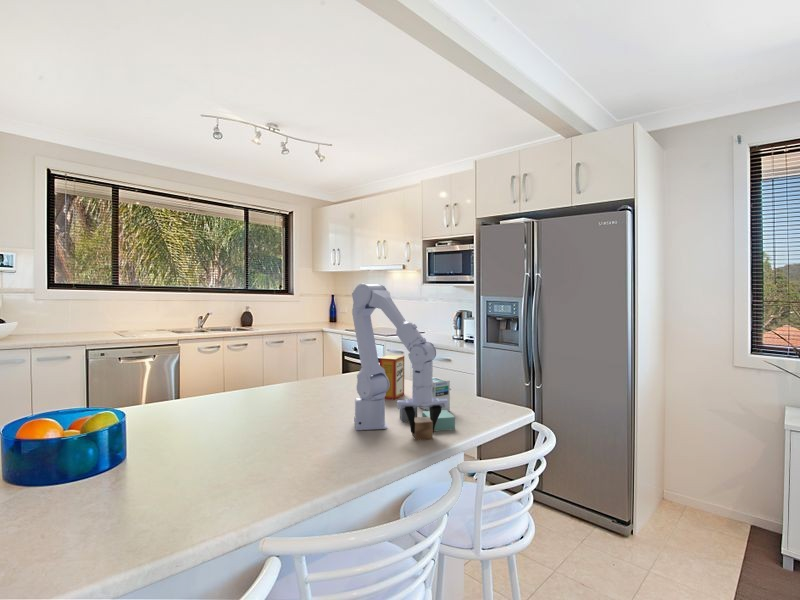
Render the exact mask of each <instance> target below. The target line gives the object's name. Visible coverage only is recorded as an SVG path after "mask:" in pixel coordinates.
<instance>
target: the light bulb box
mask: <svg viewBox="0 0 800 600" xmlns="http://www.w3.org/2000/svg"><path fill="white" fill-rule="evenodd" d="M450 383H451V382H450V380H449V379H448V380H447V379H445V378H444V379H443V378H440V377H436V376H433V375H432V398H439V399H447V400H448V407H444V406H440V408H441V410H447V411H448V412H449V410H450V411H451V409H450V408H451V407H450V405H451V403H450V400H451V399H450V398H451V396H450V395H451V391H450V388H451V387H450V385H451V384H450ZM419 408H420V409H423V410H425V409H426V410H425V411H430V408H429V407H419Z"/></svg>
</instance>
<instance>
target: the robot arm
mask: <svg viewBox="0 0 800 600" xmlns="http://www.w3.org/2000/svg"><path fill="white" fill-rule="evenodd" d="M351 296H352V303H353V304H352V310H351V313H352V320H353V325H354V331H355V338H356V343H357V347H358V349H357V350H358V354H359V359H360V360H359V361H360V366H361V368H360V369H359V371H358V373H357V374H356V382H357V383H356V392H357V394H358V395H359V397H356V398H354V417H353V422H354V426H355V431H365V430H366V431H367V430H387V429H388V425H387V422H386V421H385V420H386V416H385V415H386V404H385V403H386V402H385V401H386V399H385V396H386V392H387V391H388V389H389V386H390V383H389V379H388V378H387V376H386V374H385V370H384V369H383V368H382V367H381V366H380V361H379V358H378V357H379V356H378V351H377V345H376V339H375V334H374V329H373V323H372V318H371V315H372V313H373V312H374V311H375V310H376V309H379V310H381V311H382V312H383V314H384V315H385V316H386V318H387V319H389V321H390V322H391V323H392V324H393V326H394V327H395V328H396V331H395V332H396V333H395V334H396V336H397V338H398V339H399V340H400V341H401V343H402V344H403V345H404V347H405V349H406V350H407V351H408V352H409V353H408V354H407V355H408V359H409V360H410V363H411V369H412V398H409V399H408V398H407V399H401V400H400V399H399V400H398V399H396V408H397V409H399V410H400V409H402V408H404V410H405V412H406V414H407V417H408V420H409V422H408V424H409V427H410V432H411V435H412V434H414V432H415V427H414V418H415V412H414V409H413V408H414V407H417V408H420V407H429V408H430V419H431V420H432V422H433V434H434V432H435V431H434V428H435V424H436V421H437V419H438V417H439V415H440V413H441V408H440V406H444V407H448V400H447V399H439V398H432V376H433V361H434V360H435V358H436V357H437V350H436V347H435V344H433V343H432V342H429V341H427V339H426V338H425V337H424V336H423V335H422V334H421V333H420V331H419V330H418V329H417V328H418V326H417V324H415V323H413V322H411V321H406V319H405V318H404V316H403V315H402V313H401V311H400V310H399V308H398V306H396V304H395V302H394V301H393V299H392V298H391V297H392V296H391V292H390V291H388V290H387V288H386V287H385V285H384V284H382V283H375V284H370V283H359V284H358V285H356V287H355V288H354V290H353V291H352V293H351Z"/></svg>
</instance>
